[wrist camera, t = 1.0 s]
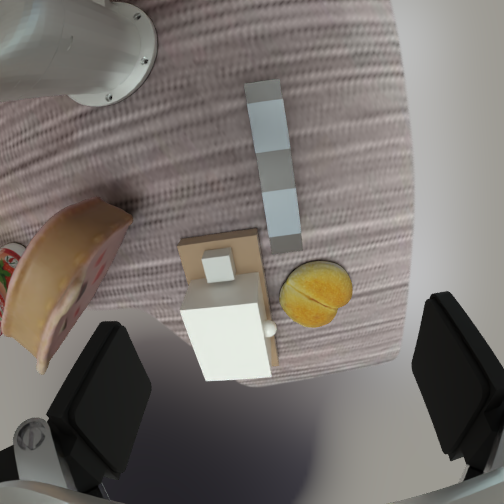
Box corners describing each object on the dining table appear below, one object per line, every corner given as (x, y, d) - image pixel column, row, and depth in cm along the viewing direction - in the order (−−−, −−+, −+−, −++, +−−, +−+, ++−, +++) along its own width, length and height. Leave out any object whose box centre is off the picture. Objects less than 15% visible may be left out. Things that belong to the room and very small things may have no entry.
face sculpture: (93, 309, 43) (41, 391, 28) (57, 283, 42) (-5, 357, 27) (151, 202, 36) (82, 277, 21) (105, 170, 34) (14, 225, 19)
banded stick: (247, 87, 30) (243, 84, 24) (276, 82, 29) (279, 78, 24) (270, 230, 37) (271, 254, 31) (297, 226, 36) (303, 250, 31)
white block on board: (181, 239, 37) (162, 273, 30) (264, 227, 36) (263, 260, 29) (218, 361, 46) (211, 402, 39) (283, 355, 45) (286, 397, 38)
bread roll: (361, 277, 39) (369, 295, 36) (317, 324, 43) (321, 344, 39) (310, 244, 37) (315, 260, 34) (267, 297, 41) (267, 316, 37)
